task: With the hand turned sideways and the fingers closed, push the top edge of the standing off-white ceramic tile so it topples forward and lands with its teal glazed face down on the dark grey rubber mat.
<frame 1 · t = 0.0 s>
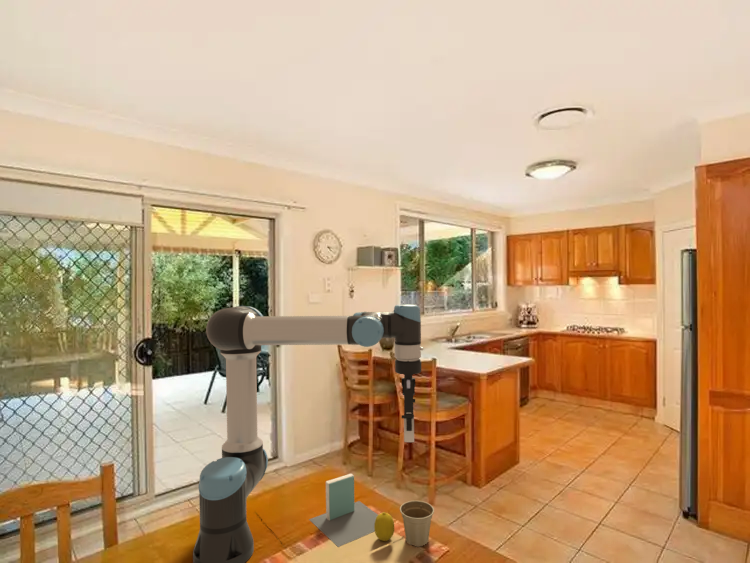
hand: (409, 433, 124), 28 cm above the table, tool pointing down, fingers open, 13 cm apart
lemon: (384, 542, 120), on the table
mat: (349, 523, 129), on the table
flower pot: (417, 541, 120), on the table
tile: (340, 514, 133), point 1 cm above the table, touching mat
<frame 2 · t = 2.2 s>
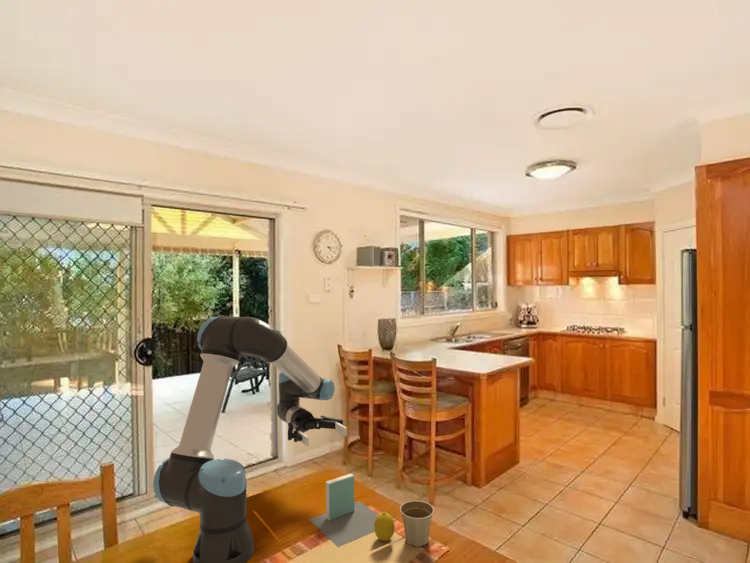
hand: (327, 436, 139), 22 cm above the table, tool horizontal, fingers open, 13 cm apart
nothing on the table moved.
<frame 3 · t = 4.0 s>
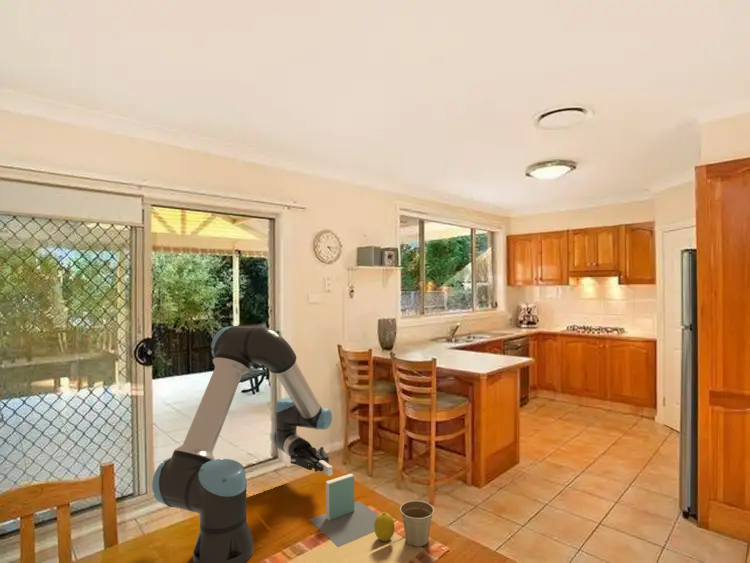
hand: (330, 471, 138), 11 cm above the table, tool horizontal, fingers closed
nothing on the table moved.
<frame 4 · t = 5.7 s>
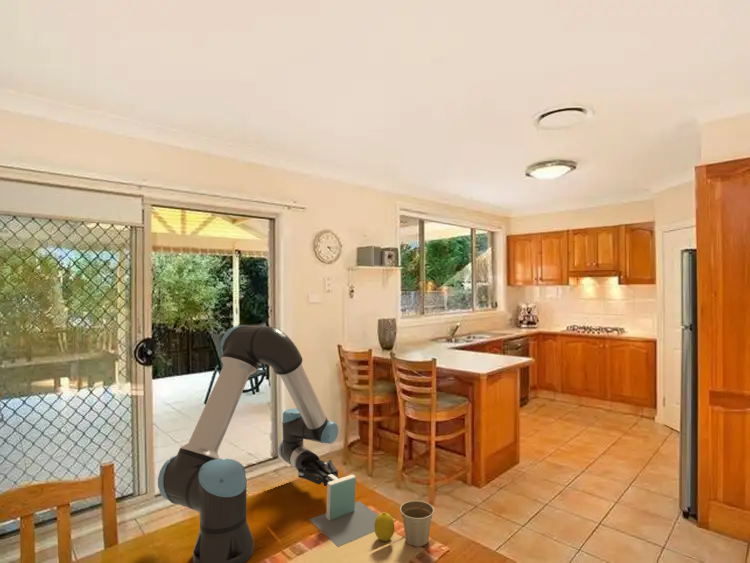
hand: (340, 486, 133), 9 cm above the table, tool horizontal, fingers closed
tile: (340, 514, 133), point 1 cm above the table, tilted 5°, touching mat
everything else where it was.
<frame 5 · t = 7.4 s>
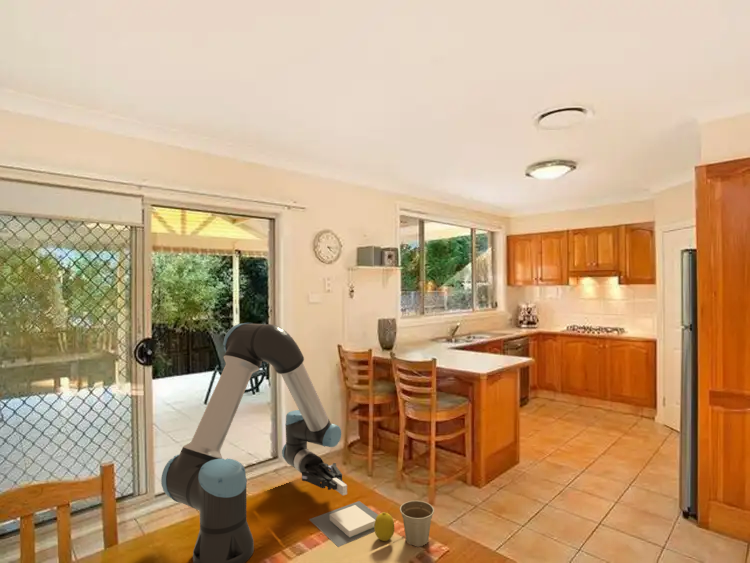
hand: (344, 490, 131), 9 cm above the table, tool horizontal, fingers closed
tile: (342, 512, 132), point 2 cm above the table, tilted 90°, touching mat
everything else where it was.
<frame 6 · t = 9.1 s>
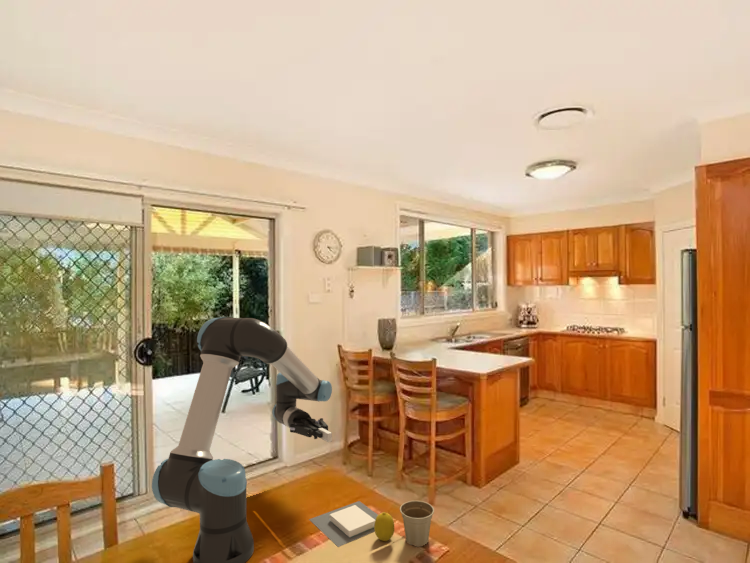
hand: (329, 437, 138), 22 cm above the table, tool horizontal, fingers closed
nothing on the table moved.
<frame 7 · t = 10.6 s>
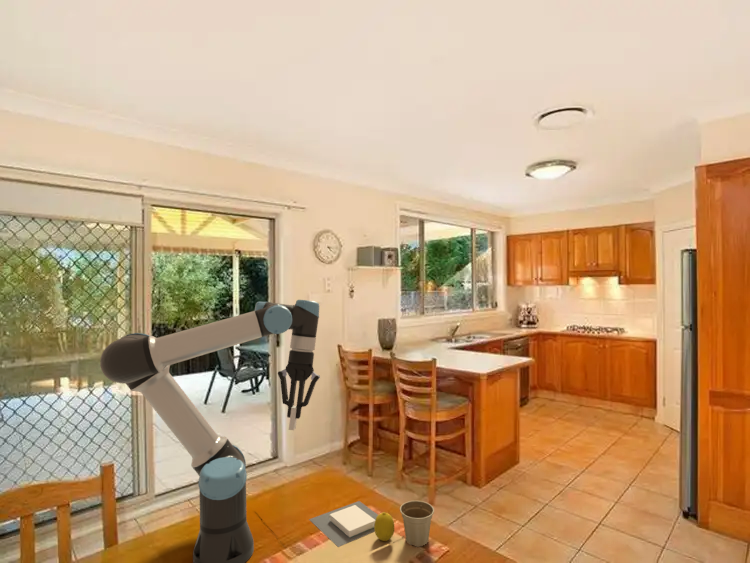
hand: (292, 428, 131), 27 cm above the table, tool pointing down, fingers closed
nothing on the table moved.
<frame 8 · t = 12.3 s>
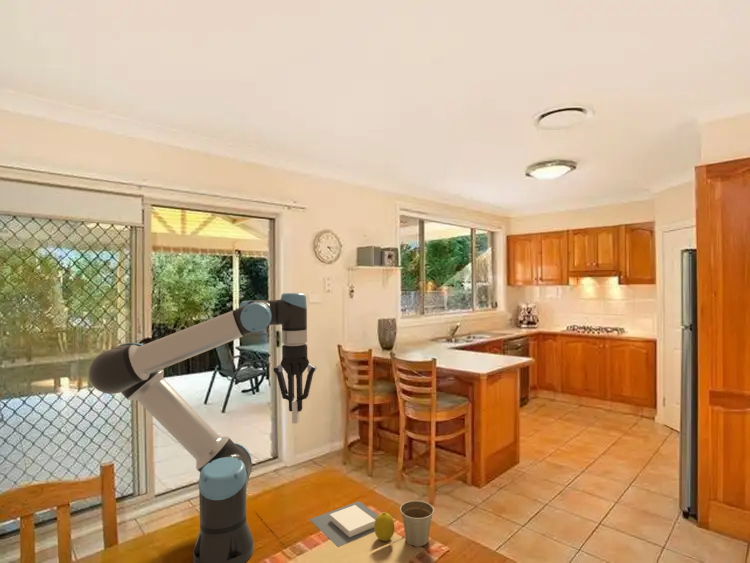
hand: (295, 421, 132), 29 cm above the table, tool pointing down, fingers closed
nothing on the table moved.
at the end: tile tilted 90°; tile touching mat; tile inside the target area on the mat (0.5 cm from its centre), point 1.6 cm above the mat's base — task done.
